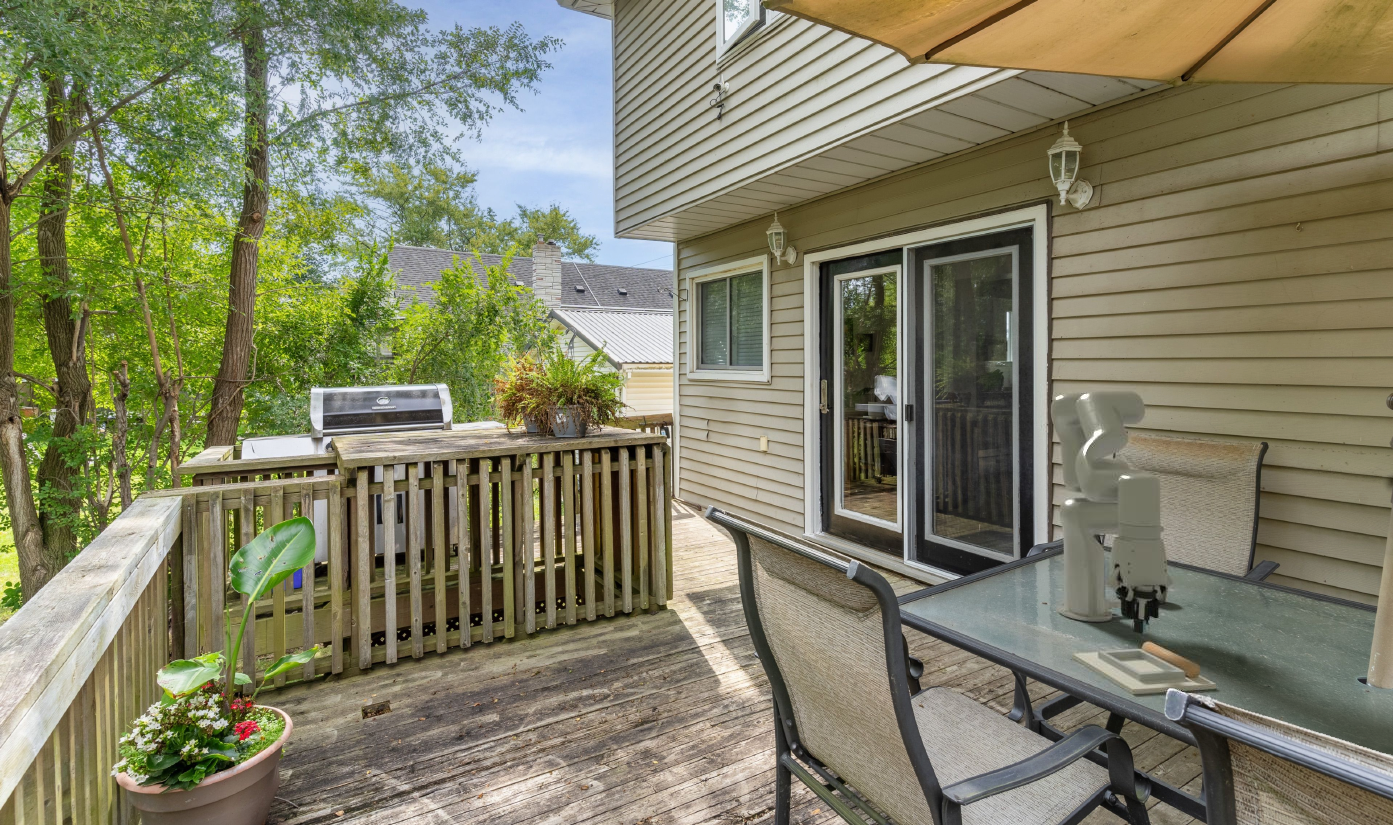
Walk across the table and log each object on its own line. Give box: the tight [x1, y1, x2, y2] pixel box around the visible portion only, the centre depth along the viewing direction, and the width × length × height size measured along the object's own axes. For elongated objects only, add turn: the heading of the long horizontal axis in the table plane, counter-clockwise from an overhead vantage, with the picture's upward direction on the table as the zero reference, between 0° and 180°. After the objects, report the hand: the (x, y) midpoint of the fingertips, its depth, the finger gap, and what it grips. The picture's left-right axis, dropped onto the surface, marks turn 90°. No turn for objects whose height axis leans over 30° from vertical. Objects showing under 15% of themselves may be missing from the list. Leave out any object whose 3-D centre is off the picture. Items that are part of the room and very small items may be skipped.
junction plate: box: [1071, 641, 1217, 695], centre depth 138 cm, size 18×18×4 cm
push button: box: [1131, 586, 1158, 635], centre depth 137 cm, size 7×5×10 cm
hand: (1139, 615), depth 137 cm, fingers closed on push button, 4 cm apart
